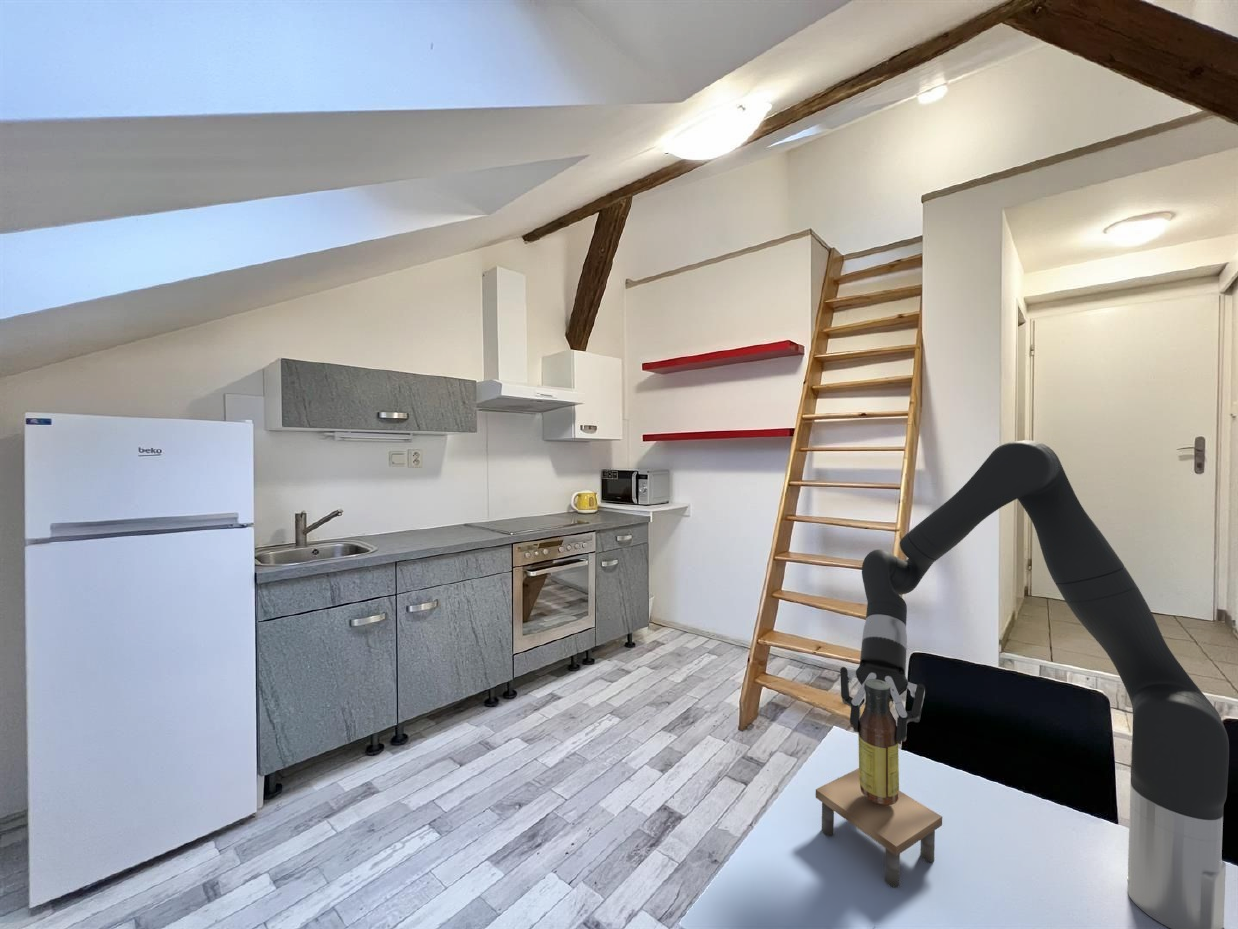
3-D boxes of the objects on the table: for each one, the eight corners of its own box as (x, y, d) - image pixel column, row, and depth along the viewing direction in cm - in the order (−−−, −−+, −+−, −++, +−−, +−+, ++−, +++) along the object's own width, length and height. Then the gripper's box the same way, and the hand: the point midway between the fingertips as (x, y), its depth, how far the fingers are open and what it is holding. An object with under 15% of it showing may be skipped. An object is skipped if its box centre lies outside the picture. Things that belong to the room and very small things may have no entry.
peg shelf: (941, 860, 84) (942, 816, 83) (895, 894, 77) (896, 846, 77) (860, 805, 97) (860, 767, 96) (815, 830, 90) (815, 789, 90)
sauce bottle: (889, 784, 90) (891, 676, 89) (905, 809, 83) (908, 693, 83) (851, 781, 90) (853, 674, 90) (865, 806, 84) (867, 691, 83)
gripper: (841, 628, 96) (829, 716, 87) (928, 643, 89) (926, 742, 79) (844, 646, 101) (834, 731, 91) (928, 662, 93) (926, 757, 83)
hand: (877, 736), depth 85 cm, fingers closed on sauce bottle, 6 cm apart
